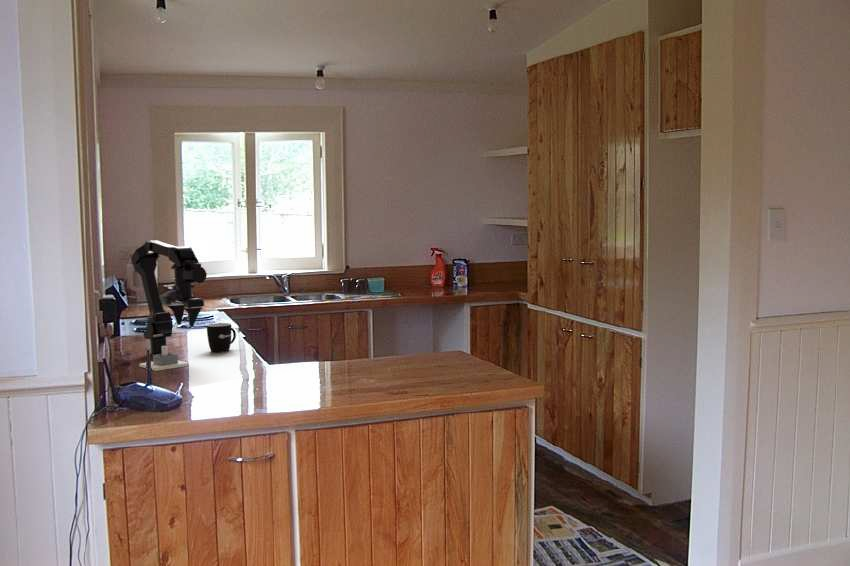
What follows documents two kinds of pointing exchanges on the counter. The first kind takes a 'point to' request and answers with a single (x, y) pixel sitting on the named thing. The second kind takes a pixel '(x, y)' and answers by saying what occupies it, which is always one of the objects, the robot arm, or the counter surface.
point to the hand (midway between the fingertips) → (185, 325)
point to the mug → (220, 337)
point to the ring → (165, 359)
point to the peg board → (158, 367)
